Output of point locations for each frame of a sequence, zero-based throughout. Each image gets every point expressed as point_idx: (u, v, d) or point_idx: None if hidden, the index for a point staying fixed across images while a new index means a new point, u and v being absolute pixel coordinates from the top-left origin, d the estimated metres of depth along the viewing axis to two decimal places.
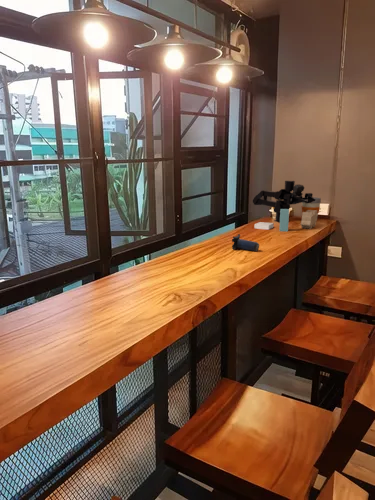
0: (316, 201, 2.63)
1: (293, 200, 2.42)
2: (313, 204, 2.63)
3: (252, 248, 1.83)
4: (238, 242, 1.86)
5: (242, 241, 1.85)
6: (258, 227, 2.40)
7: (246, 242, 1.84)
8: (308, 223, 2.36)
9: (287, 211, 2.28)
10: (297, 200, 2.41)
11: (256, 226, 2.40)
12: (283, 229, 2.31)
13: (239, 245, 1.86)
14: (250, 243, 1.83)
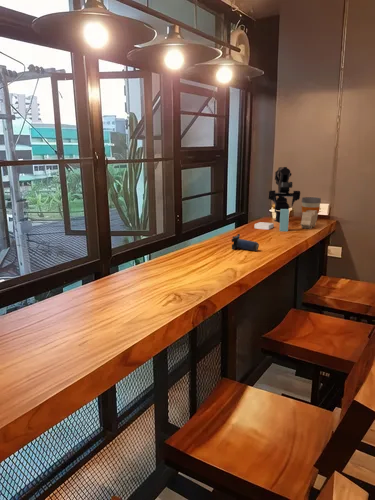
0: (316, 201, 2.63)
1: (272, 197, 2.43)
2: (313, 204, 2.63)
3: (252, 248, 1.83)
4: (238, 242, 1.86)
5: (242, 241, 1.86)
6: (258, 227, 2.40)
7: (246, 242, 1.85)
8: (308, 223, 2.36)
9: (287, 211, 2.28)
10: (274, 201, 2.42)
11: (256, 226, 2.40)
12: (283, 229, 2.31)
13: (239, 245, 1.86)
14: (250, 243, 1.84)
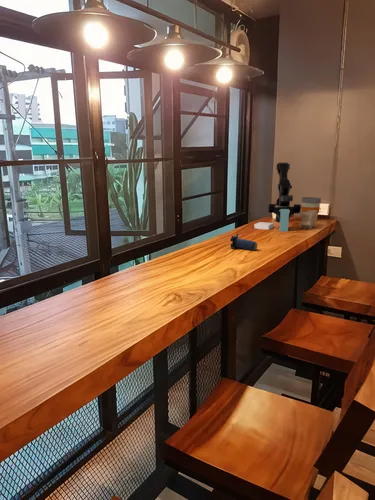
0: (316, 201, 2.63)
1: (276, 211, 2.35)
2: (313, 204, 2.63)
3: (250, 247, 1.84)
4: (236, 241, 1.87)
5: (240, 240, 1.87)
6: (258, 227, 2.40)
7: (244, 241, 1.86)
8: (308, 223, 2.36)
9: (287, 211, 2.28)
10: (277, 215, 2.34)
11: (256, 226, 2.40)
12: (283, 229, 2.31)
13: (237, 244, 1.87)
14: (248, 242, 1.85)
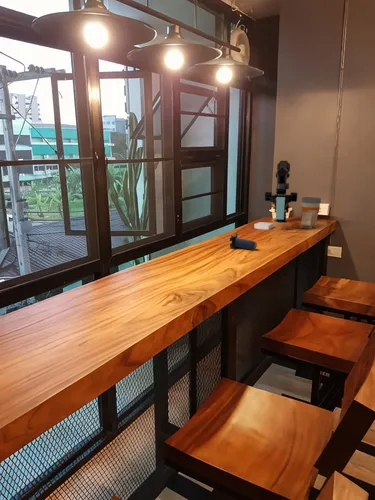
0: (316, 201, 2.63)
1: (272, 199, 2.36)
2: (313, 204, 2.63)
3: (250, 247, 1.85)
4: (236, 241, 1.88)
5: (240, 240, 1.88)
6: (258, 227, 2.40)
7: (244, 241, 1.86)
8: (308, 223, 2.36)
9: (283, 199, 2.28)
10: (274, 203, 2.34)
11: (256, 226, 2.40)
12: (279, 217, 2.31)
13: (237, 244, 1.88)
14: (248, 242, 1.85)
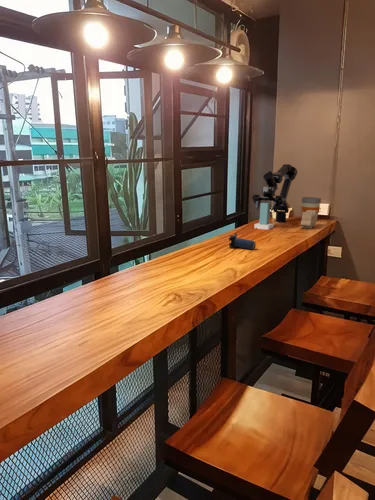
0: (316, 201, 2.63)
1: (256, 201, 2.46)
2: (313, 204, 2.63)
3: (249, 246, 1.86)
4: (235, 241, 1.89)
5: (239, 240, 1.88)
6: (258, 227, 2.40)
7: (243, 241, 1.87)
8: (308, 223, 2.36)
9: (266, 204, 2.37)
10: None
11: (256, 226, 2.40)
12: (262, 222, 2.40)
13: (236, 244, 1.89)
14: (247, 242, 1.86)
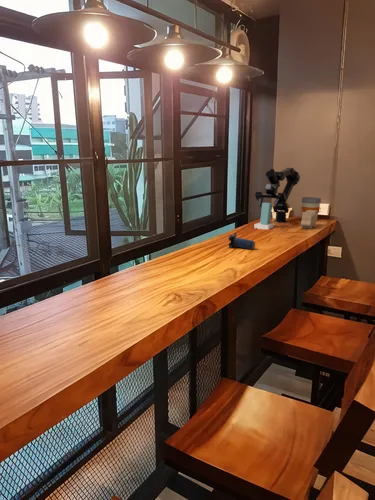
0: (316, 201, 2.63)
1: (259, 199, 2.49)
2: (313, 204, 2.63)
3: (248, 246, 1.86)
4: (234, 240, 1.89)
5: (238, 239, 1.89)
6: (258, 227, 2.40)
7: (242, 240, 1.88)
8: (308, 223, 2.36)
9: (267, 204, 2.37)
10: None
11: (256, 226, 2.41)
12: (263, 222, 2.40)
13: (235, 243, 1.89)
14: (246, 241, 1.87)
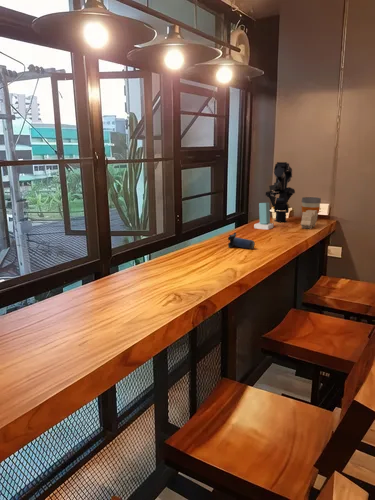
0: (316, 201, 2.63)
1: None
2: (313, 204, 2.63)
3: (248, 246, 1.87)
4: (234, 240, 1.90)
5: (238, 239, 1.89)
6: (257, 227, 2.40)
7: (242, 240, 1.88)
8: (308, 223, 2.36)
9: (264, 204, 2.38)
10: None
11: (256, 226, 2.41)
12: (262, 221, 2.40)
13: (235, 243, 1.90)
14: (246, 241, 1.87)
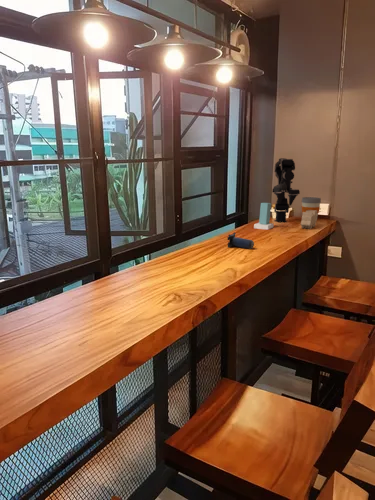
0: (316, 201, 2.63)
1: None
2: (313, 204, 2.63)
3: (247, 246, 1.87)
4: (233, 240, 1.90)
5: (237, 239, 1.90)
6: (257, 227, 2.40)
7: (241, 240, 1.89)
8: (308, 223, 2.36)
9: (266, 204, 2.37)
10: None
11: (256, 226, 2.41)
12: (262, 222, 2.41)
13: (234, 243, 1.90)
14: (245, 241, 1.88)
